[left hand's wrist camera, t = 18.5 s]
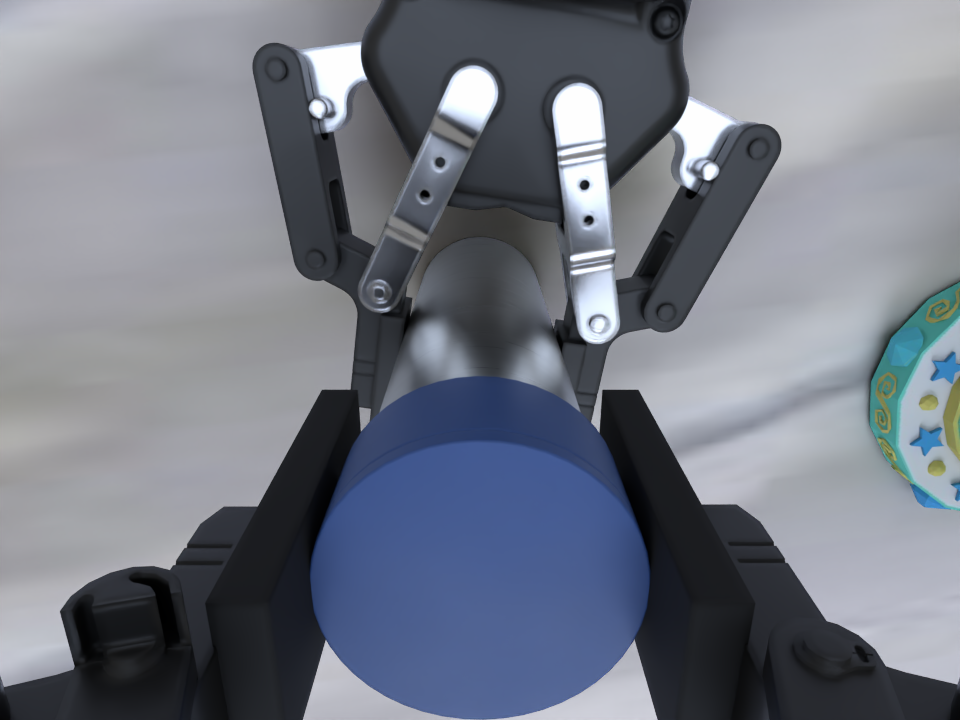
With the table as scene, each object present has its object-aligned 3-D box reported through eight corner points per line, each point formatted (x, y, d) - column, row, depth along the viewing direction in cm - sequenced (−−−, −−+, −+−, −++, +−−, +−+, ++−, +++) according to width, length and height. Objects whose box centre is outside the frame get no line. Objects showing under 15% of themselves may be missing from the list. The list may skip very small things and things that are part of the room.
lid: (678, 501, 13) (722, 589, 10) (483, 659, 14) (484, 767, 12) (475, 314, 11) (474, 367, 9) (282, 508, 13) (239, 596, 10)
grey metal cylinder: (459, 371, 27) (433, 705, 12) (397, 274, 26) (282, 516, 11) (560, 316, 27) (667, 601, 11) (502, 213, 25) (537, 382, 10)
